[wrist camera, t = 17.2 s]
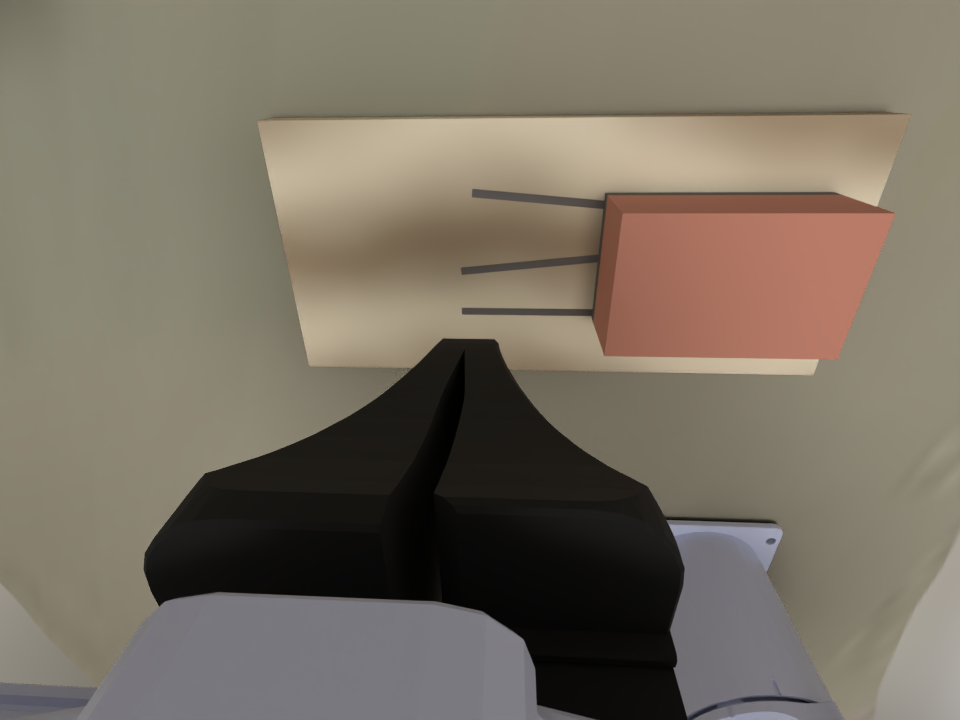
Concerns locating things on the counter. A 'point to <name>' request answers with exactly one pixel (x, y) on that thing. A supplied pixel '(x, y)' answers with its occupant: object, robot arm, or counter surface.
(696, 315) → the block
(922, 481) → the counter surface
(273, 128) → the plank
